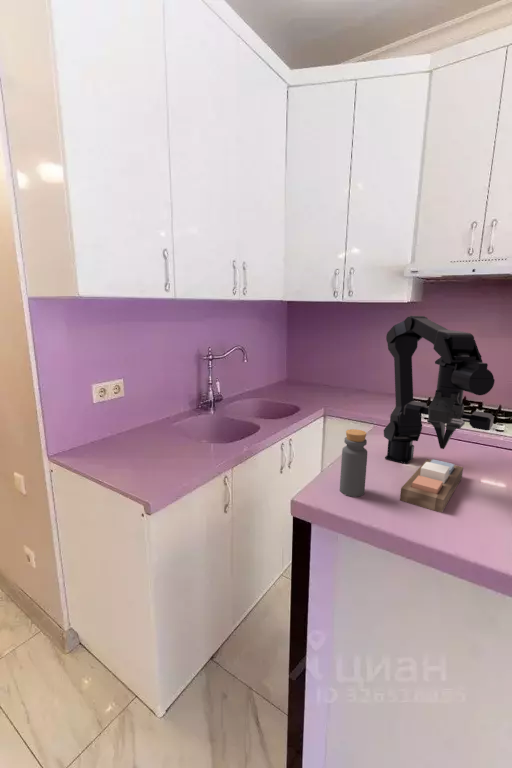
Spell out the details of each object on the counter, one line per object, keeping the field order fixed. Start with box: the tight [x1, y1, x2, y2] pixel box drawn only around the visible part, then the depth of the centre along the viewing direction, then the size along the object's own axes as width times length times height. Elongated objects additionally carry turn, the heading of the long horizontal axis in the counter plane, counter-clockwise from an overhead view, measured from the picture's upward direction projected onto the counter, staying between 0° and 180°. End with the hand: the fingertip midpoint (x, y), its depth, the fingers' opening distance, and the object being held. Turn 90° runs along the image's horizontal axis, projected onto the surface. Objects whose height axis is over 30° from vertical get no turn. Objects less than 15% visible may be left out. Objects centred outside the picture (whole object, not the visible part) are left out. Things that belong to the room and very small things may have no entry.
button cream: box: [420, 462, 450, 484], centre depth 94 cm, size 5×5×4 cm
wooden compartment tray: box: [399, 458, 464, 514], centre depth 94 cm, size 9×24×3 cm, turn 143°
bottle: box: [339, 428, 368, 498], centre depth 91 cm, size 6×6×15 cm
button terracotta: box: [412, 476, 443, 495], centre depth 89 cm, size 5×5×4 cm
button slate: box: [430, 459, 455, 475], centre depth 100 cm, size 5×5×4 cm
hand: (442, 448), depth 93 cm, fingers closed
